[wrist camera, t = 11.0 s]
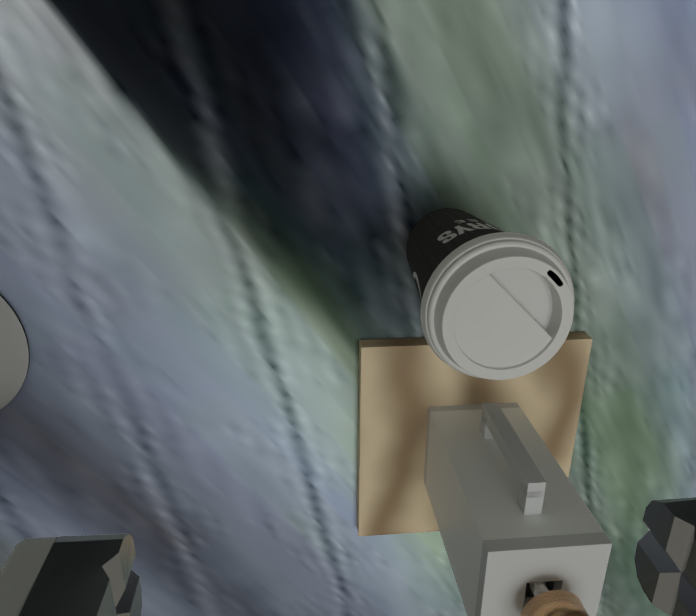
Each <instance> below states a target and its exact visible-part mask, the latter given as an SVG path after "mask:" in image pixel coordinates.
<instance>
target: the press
mask: <svg viewBox="0 0 696 616" xmlns="http://www.w3.org/2000/svg"><path fill="white" fill-rule="evenodd" d="M424 484H425V487H426V490H427V493H428V496H429V499H430V502H431V505H432V508H433V512H434V515H435V518H436V521H437V524H438V527H439V530H440V533H441V536H442V539H443V542H444V545H445V548H446V551H447V554H448V557H449V560H450V563H451V567H452V570H453V573H454V576H455V579H456V582H457V585H458V588H459V591H460V594H461V597H462V600H463V603H464V606H465V609H466V612H467V615H468V616H521V612H522V610H523V608H524V606H525V605H526V604H527V603H528V602H529V601H530V600H531V599H532V598H534V594H533V592H532V590H531V588H530V586H529V584H528V583H533V582H545V584H546V586H547V588H548V590H549V591H551V590H566V591H569V592H572V593H574V594H575V595H577V596H578V597H579V599H580V600H581V602H582V604H583V606H584V608H585V610H586V611H587V613H588V615H589V616H596V615H597V610H598V606H599V601H600V596H601V592H602V587H603V583H604V578H605V574H606V569H607V564H608V560H609V555H610V551H611V546H612V543H611V541H610V540H609V538H608V537H607V535H606V534H605V532H604V531H603V529H602V528H601V526H600V525H599V523H598V522H597V520H596V519H595V517H594V516H593V515H592V513H591V512H590V510H589V509H588V507H587V506H586V504H585V503H584V501H583V500H582V498H581V497H580V495H579V494H578V492H577V491H576V489H575V488H574V486H573V485H572V483H571V482H570V480H569V479H568V477H567V476H566V475H565V473H564V472H563V470H562V469H561V467H560V466H559V464H558V463H557V461H556V460H555V458H554V457H553V455H552V454H551V452H550V451H549V449H548V448H547V446H546V445H545V443H544V442H543V440H542V439H541V437H540V436H539V435H538V433H537V432H536V430H535V429H534V427H533V426H532V424H531V423H530V421H529V420H528V418H527V417H526V415H525V414H524V412H523V411H522V409H521V408H520V406H519V405H518V403H497V402H496V403H482V404H476V405H455V406H434V407H428V420H427V436H426V452H425V468H424Z"/></svg>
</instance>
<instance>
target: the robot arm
mask: <svg viewBox="0 0 696 616" xmlns="http://www.w3.org/2000/svg"><path fill="white" fill-rule="evenodd" d="M28 363H29V352H28V345H27V340H26V336H25V333H24V331H23V328H22V326H21V324H20V322H19V320H18V318H17V316H16V315H15V313H14V312H13V310H12V309H11V308H10V306H9V305H8V304H7V303H6V301H5V300H4V299H3V298H2V297H1V296H0V409H2V408H3V407H4V406H6V405H7V404H8V403H9V402H10V401H11V400H12V399H13V398H14V397H15V396H16V394H17V393H18V392H19V390H20V388H21V387H22V385H23V382H24V380H25V377H26V374H27V370H28ZM643 522H644V523H645V525H646V526H647V528H648V529H649V531H648V532H647V533H646V534H645V535H644V536H643V537H642V538H641V539H640V540H639V541H638V543H637V548H636V554H635V565H636V572H637V577H638V579H639V582H640V584H641V587H642V589H643V591H644V593H645V594H646V596H647V597H648V599H649V600H650V602H651V603H652V604H653V605H654V606H656V607H657V608H659V609H660V610H662V611H663V612H665V613H667V614H668V615H670V616H696V497H694V498H680V499H666V500H652V501H651V502H650V504H649V505H648V506H647V507H646V510H645V514H644V518H643ZM135 555H136V553H135V548H134V543H133V538H132V536H130V535H129V534H107V535H81V536H61V537H49V538H25V539H24V540H23V541H21V542H20V543H19V544H18V545H17V546H16V547H15V549H14V551H13V552H12V554H11V556H10V558H9V560H8V561H7V563H6V565H5V567H4V568H3V570H2V572H1V574H0V616H141V609H142V590H141V583H140V577H139V576H138V575H137V574H136V573H135V572H133V571H132V570H131V568H132V565H133V561H134V558H135Z"/></svg>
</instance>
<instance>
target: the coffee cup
mask: <svg viewBox="0 0 696 616" xmlns="http://www.w3.org/2000/svg"><path fill="white" fill-rule="evenodd" d="M407 258H408V262H409V265H410V268H411V271H412V274H413V277H414V280H415V283H416V287H417V290H418V293H419V296H420V299H421V325H422V330H423V333H424V336H425V338H426V341H427V343H428V344H429V346H430V348H431V349H432V351H433V352H434V353H435V354H436V355H437V356H438V358H440V359H441V360H442V361H443V362H444V363H446V364H447V365H449V366H450V367H452V368H453V369H455V370H457V371H459V372H461V373H463V374H466V375H469V376H473V377H477V378H483V379H490V380H507V379H513V378H517V377H521V376H524V375H526V374H529V373H531V372H533V371H535V370H536V369H538V368H540V367H541V366H543V365H544V364H545V363H547V362H548V361H549V360H550V359H551V358H552V357H553V356H554V355H555V354H556V353H557V352H558V350H559V349H560V348H561V346H562V345H563V343H564V342H565V340H566V338H567V336H568V334H569V331H570V329H571V325H572V321H573V314H574V290H573V284H572V280H571V277H570V274H569V272H568V270H567V268H566V266H565V264H564V262H563V261H562V259H561V258H560V256H559V255H558V254H557V253H556V252H555V251H554V250H553V249H552V248H551V247H550V246H548V245H547V244H546V243H544V242H542V241H541V240H539V239H537V238H534V237H532V236H529V235H525V234H521V233H515V232H505V231H502V230H500V229H498V228H496V227H494V226H492V225H490V224H488V223H486V222H484V221H482V220H480V219H478V218H476V217H474V216H472V215H471V214H468V213H466V212H464V211H462V210H458V209H441V210H437V211H434V212H432V213H430V214H428V215H426V216H425V217H423V218H422V219H421V220H420V221H419V222H418V223H417V224H416V225H415V227H414V228H413V230H412V232H411V234H410V236H409V239H408V243H407Z"/></svg>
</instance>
